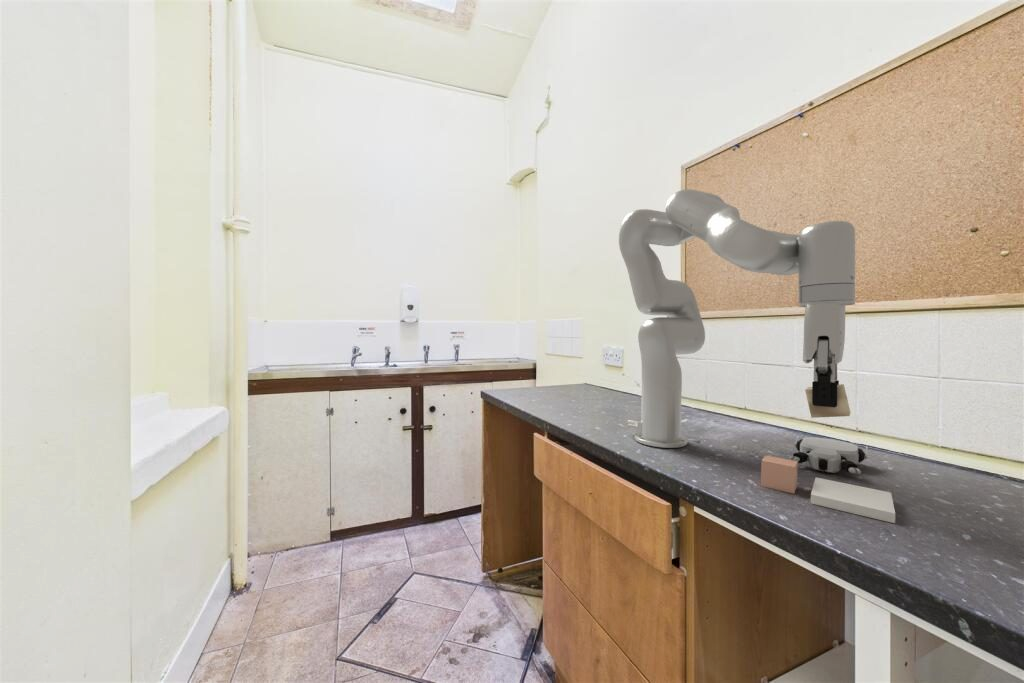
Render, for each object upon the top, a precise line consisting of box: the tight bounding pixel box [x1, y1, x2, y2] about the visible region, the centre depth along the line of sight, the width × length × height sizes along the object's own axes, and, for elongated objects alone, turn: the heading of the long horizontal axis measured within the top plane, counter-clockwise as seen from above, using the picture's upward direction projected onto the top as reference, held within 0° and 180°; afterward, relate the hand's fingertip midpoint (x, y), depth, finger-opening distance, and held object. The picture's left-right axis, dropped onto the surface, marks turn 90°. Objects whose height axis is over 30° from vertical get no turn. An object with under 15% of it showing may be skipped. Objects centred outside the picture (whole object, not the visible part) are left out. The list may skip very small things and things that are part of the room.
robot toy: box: [788, 435, 869, 475], centre depth 83 cm, size 12×4×15 cm
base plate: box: [810, 477, 896, 524], centre depth 65 cm, size 10×10×2 cm
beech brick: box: [804, 383, 851, 419], centre depth 67 cm, size 5×4×5 cm
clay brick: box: [760, 454, 799, 494], centre depth 72 cm, size 5×4×5 cm
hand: (825, 403), depth 67 cm, fingers closed on beech brick, 3 cm apart
